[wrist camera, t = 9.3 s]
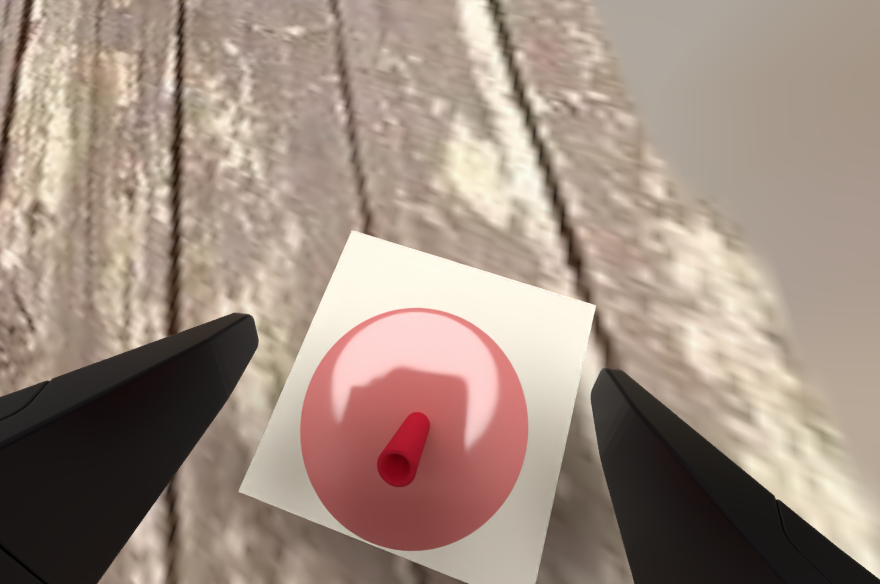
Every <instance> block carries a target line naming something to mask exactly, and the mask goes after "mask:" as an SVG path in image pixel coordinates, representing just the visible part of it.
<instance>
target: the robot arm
mask: <svg viewBox="0 0 880 584" xmlns="http://www.w3.org/2000/svg"><path fill="white" fill-rule="evenodd" d="M258 342H259V340H258V335H257V330H256V326H255V321H254V318H253V317H252V316H251V315H249V314H243V313H232V314H230V315H227V316H224V317H221V318H218V319H216V320H213V321H210V322H207V323H205V324H202V325H199V326H196V327H194V328H191V329H188V330H185V331H183V332H180V333H177V334H174V335H171V336H169V337H166V338H163V339H160V340H158V341H155V342H152V343H149V344H147V345H144V346H141V347H138V348H136V349H133V350H130V351H127V352H124V353H122V354H119V355H116V356H113V357H111V358H108V359H105V360H102V361H100V362H97V363H94V364H91V365H89V366H86V367H83V368H80V369H77V370H75V371H72V372H69V373H66V374H64V375H61V376H58V377H55V378H53V379H52V380H51V381H44V382H41V383H39V384H36V385H33V386H30V387H28V388H25V389H22V390H19V391H16V392H13V393H11V394H8V395H5V396H2V397H0V584H97V583H98V582H99V580H100V579H101V578H102V576H103V575H104V573H105V572H106V571H107V569H108V568H109V566H110V565H111V564H112V562H113V561H114V559H115V558H116V557H117V555H118V554H119V552H120V551H121V549H122V548H123V547H124V545H125V544H126V542H127V541H128V540H129V538H130V537H131V535H132V534H133V533H134V531H135V530H136V528H137V527H138V526H139V524H140V523H141V521H142V520H143V518H144V517H145V516H146V514H147V513H148V511H149V510H150V509H151V507H152V506H153V504H154V503H155V502H156V500H157V499H158V497H159V496H160V495H161V493H162V492H163V490H164V489H165V487H166V486H167V485H168V483H169V482H170V480H171V479H172V478H173V476H174V475H175V473H176V472H177V471H178V469H179V468H180V466H181V465H182V464H183V462H184V461H185V459H186V458H187V456H188V455H189V454H190V452H191V451H192V449H193V448H194V447H195V445H196V444H197V442H198V441H199V440H200V438H201V437H202V435H203V434H204V433H205V431H206V430H207V428H208V427H209V425H210V424H211V423H212V421H213V420H214V418H215V417H216V416H217V414H218V413H219V411H220V410H221V409H222V407H223V406H224V404H225V403H226V401H227V400H228V398H229V397H230V395H231V393H232V392H233V390H234V388H235V386H236V385H237V383H238V381H239V379H240V378H241V376H242V374H243V372H244V371H245V369H246V367H247V365H248V364H249V362H250V360H251V358H252V356H253V355H254V353H255V351H256V349H257V347H258ZM591 405H592V411H593V418H594V424H595V430H596V436H597V443H598V449H599V454H600V459H601V463H602V467H603V471H604V475H605V478H606V482H607V486H608V489H609V493H610V496H611V500H612V504H613V507H614V511H615V515H616V518H617V522H618V526H619V529H620V533H621V536H622V540H623V544H624V547H625V551H626V555H627V558H628V562H629V565H630V569H631V573H632V576H633V580H634V584H880V579H878V578H877V577H876V576H875V575H873V574H872V573H871V572H869V571H868V570H867V569H865V568H864V567H863V566H862V565H860V564H859V563H858V562H856V561H855V560H854V559H852V558H851V557H850V556H849V555H847V554H846V553H845V552H843V551H842V550H841V549H839V548H838V547H837V546H836V545H834V544H833V543H832V542H831V541H830V540H828V539H827V538H826V537H825V536H823V535H822V534H821V533H820V532H818V531H817V530H816V529H815V528H813V527H812V526H811V525H810V524H808V523H807V522H806V521H805V520H803V519H802V518H801V517H800V516H799V515H797V514H796V513H795V512H794V511H792V510H791V509H790V508H789V507H788V506H786V505H785V504H784V503H783V502H782V501H780V500H778V499H775V496H774V495H773V494H772V493H771V492H769V491H768V490H767V489H766V488H764V487H763V486H762V485H761V484H760V483H758V482H757V481H756V480H755V479H754V478H752V477H751V476H750V475H749V474H747V473H746V472H745V471H744V470H743V469H741V468H740V467H739V466H738V465H736V464H735V463H734V462H733V461H732V460H730V459H729V458H728V457H727V456H726V455H724V454H723V453H722V452H721V451H719V450H718V449H717V448H716V447H715V446H713V445H712V444H711V443H710V442H709V441H707V440H706V439H705V438H704V437H702V436H701V435H700V434H699V433H698V432H696V431H695V430H694V429H693V428H692V427H690V426H689V425H688V424H687V423H685V422H684V421H683V420H682V419H681V418H679V417H678V416H677V415H676V414H675V413H673V412H672V411H671V410H670V409H668V408H667V407H666V406H665V405H664V404H662V403H661V402H660V401H659V400H657V399H656V398H655V397H654V396H653V395H651V394H650V393H649V392H648V391H647V390H645V389H644V388H643V387H642V386H640V385H639V384H638V383H637V382H636V381H634V380H633V379H632V378H631V377H630V376H628V375H627V374H626V373H625V372H623V371H622V370H620V369H614V368H607V367H606V368H603V369H602V370H601V371H600V373H599V375H598V378H597V380H596V382H595V384H594V386H593V388H592V391H591Z"/></svg>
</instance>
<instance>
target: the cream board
mask: <svg viewBox="0 0 880 584" xmlns="http://www.w3.org/2000/svg"><path fill="white" fill-rule="evenodd" d="M595 307H596V305H593V304H589V303H586V302H583V301H580V300H577V299H573V298H570V297H567V296H564V295H560V294H557V293H554V292H551V291H547V290H544V289H541V288H538V287H534V286H531V285H528V284H525V283H521V282H518V281H515V280H512V279H508V278H505V277H502V276H499V275H496V274H492V273H489V272H486V271H483V270H479V269H476V268H473V267H470V266H466V265H463V264H460V263H457V262H453V261H450V260H447V259H444V258H440V257H437V256H434V255H431V254H427V253H424V252H421V251H418V250H415V249H411V248H408V247H405V246H402V245H398V244H395V243H392V242H389V241H385V240H382V239H379V238H376V237H372V236H369V235H366V234H363V233H359V232H356V231H353V230H352V232H351V234H350V236H349V239H348V241H347V243H346V245H345V248H344V250H343V252H342V255H341V257H340V259H339V262H338V264H337V266H336V268H335V271H334V273H333V275H332V278H331V280H330V282H329V285H328V287H327V289H326V291H325V294H324V296H323V298H322V301H321V303H320V305H319V308H318V310H317V312H316V314H315V317H314V319H313V321H312V324H311V326H310V328H309V331H308V333H307V335H306V337H305V340H304V342H303V344H302V347H301V349H300V351H299V353H298V356H297V358H296V360H295V363H294V365H293V367H292V370H291V372H290V374H289V376H288V379H287V381H286V383H285V386H284V388H283V390H282V393H281V395H280V397H279V399H278V402H277V404H276V406H275V409H274V411H273V413H272V416H271V418H270V420H269V422H268V425H267V427H266V429H265V432H264V434H263V436H262V439H261V441H260V443H259V445H258V448H257V450H256V452H255V455H254V457H253V459H252V461H251V464H250V466H249V468H248V471H247V473H246V475H245V478H244V480H243V482H242V484H241V487H240V489H239V491H238V492H240V493H243V494H245V495H248V496H250V497H253V498H255V499H258V500H260V501H263V502H265V503H268V504H270V505H273V506H275V507H278V508H280V509H283V510H285V511H288V512H290V513H293V514H295V515H298V516H300V517H303V518H305V519H308V520H310V521H313V522H315V523H318V524H320V525H323V526H325V527H328V528H330V529H333V530H335V531H338V532H340V533H343V534H345V535H348V536H350V537H353V538H355V539H358V540H360V541H363V542H365V543H368V544H371V545H373V546H376V547H378V548H381V549H383V550H386V551H388V552H391V553H393V554H396V555H398V556H401V557H403V558H406V559H408V560H411V561H413V562H416V563H418V564H421V565H423V566H426V567H428V568H431V569H433V570H436V571H438V572H441V573H443V574H446V575H448V576H451V577H453V578H456V579H458V580H461V581H463V582H466V583H468V584H536V579H537V574H538V570H539V565H540V561H541V556H542V551H543V547H544V542H545V538H546V533H547V528H548V524H549V519H550V514H551V510H552V505H553V501H554V496H555V491H556V487H557V482H558V478H559V473H560V468H561V464H562V459H563V455H564V450H565V445H566V441H567V436H568V432H569V427H570V422H571V418H572V413H573V409H574V404H575V399H576V395H577V390H578V385H579V381H580V376H581V372H582V367H583V362H584V358H585V353H586V349H587V344H588V339H589V335H590V330H591V326H592V321H593V316H594V312H595ZM404 308H428V309H435V310H440V311H444V312H448V313H451V314H453V315H456V316H458V317H461V318H463V319H465V320H467V321H469V322H470V323H472V324H474V325H475V326H477V327H478V328H480V329H481V330H482V331H483V332H485V333H486V334H487V335H488V336H489V337H490V338H491V339H493V340H494V342H495V343H496V344H497V345H498V346H499V347H500V348H501V349H502V351H503V352H504V353H505V355H506V356H507V358H508V359H509V361H510V362H511V364H512V366H513V368H514V370H515V372H516V374H517V376H518V378H519V381H520V383H521V386H522V389H523V393H524V396H525V401H526V406H527V413H528V441H527V449H526V454H525V458H524V462H523V466H522V469H521V471H520V474H519V477H518V479H517V481H516V483H515V485H514V487H513V489H512V491H511V493H510V494H509V496H508V498H507V499H506V501H505V502H504V503H503V505H502V506H501V507H500V508H499V510H498V511H497V512H496V513H495V514H494V515H493V516H492V517H491V518H490V519H489V520H488V521H487V522H486V523H485V524H484V525H482V526H481V527H480V528H479V529H477V530H476V531H474V532H473V533H471V534H470V535H468V536H466V537H465V538H463V539H461V540H459V541H457V542H454V543H452V544H449V545H446V546H443V547H439V548H435V549H430V550H423V551H402V550H394V549H389V548H385V547H381V546H378V545H375V544H373V543H370V542H368V541H366V540H364V539H362V538H360V537H358V536H357V535H355V534H353V533H352V532H350V531H349V530H348V529H346V528H345V527H344V526H343V525H341V524H340V523H339V522H338V521H337V520H336V519H335V518H334V517H333V516H332V515H331V514H330V512H329V511H328V510H327V509H326V508H325V506H324V505H323V503H322V502H321V501H320V499H319V497H318V496H317V494H316V492H315V490H314V488H313V486H312V484H311V482H310V480H309V477H308V474H307V471H306V468H305V465H304V461H303V456H302V450H301V441H300V423H301V413H302V407H303V403H304V398H305V395H306V392H307V389H308V386H309V383H310V381H311V379H312V376H313V374H314V372H315V371H316V369H317V367H318V365H319V364H320V362H321V360H322V359H323V358H324V356H325V355H326V353H327V352H328V351H329V350H330V349H331V347H332V346H333V345H334V344H335V343H336V342H337V341H338V340H339V339H340V338H341V337H342V336H343V335H345V334H346V333H347V332H348V331H350V330H351V329H352V328H354V327H355V326H357V325H358V324H360V323H362V322H364V321H365V320H367V319H369V318H372V317H374V316H376V315H379V314H382V313H385V312H388V311H393V310H398V309H404Z"/></svg>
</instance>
